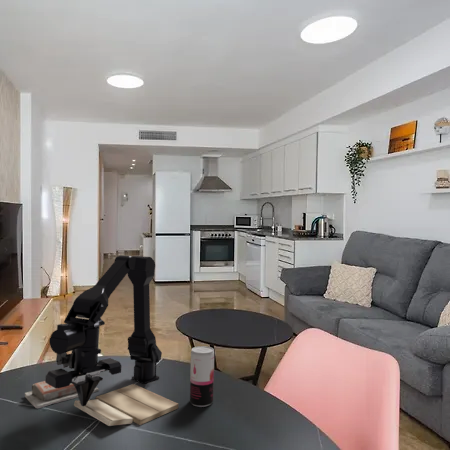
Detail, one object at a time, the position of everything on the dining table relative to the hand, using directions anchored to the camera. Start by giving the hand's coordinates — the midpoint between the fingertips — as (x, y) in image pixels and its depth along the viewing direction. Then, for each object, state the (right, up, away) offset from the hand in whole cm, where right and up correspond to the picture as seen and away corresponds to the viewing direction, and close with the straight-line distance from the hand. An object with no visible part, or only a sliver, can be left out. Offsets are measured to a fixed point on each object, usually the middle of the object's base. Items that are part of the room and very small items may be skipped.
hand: (83, 405), depth 109 cm
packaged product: (-11, -3, +14) cm, 18 cm away
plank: (+5, -2, 0) cm, 5 cm away
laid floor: (+12, -3, +8) cm, 15 cm away
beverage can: (+30, -4, +10) cm, 32 cm away
